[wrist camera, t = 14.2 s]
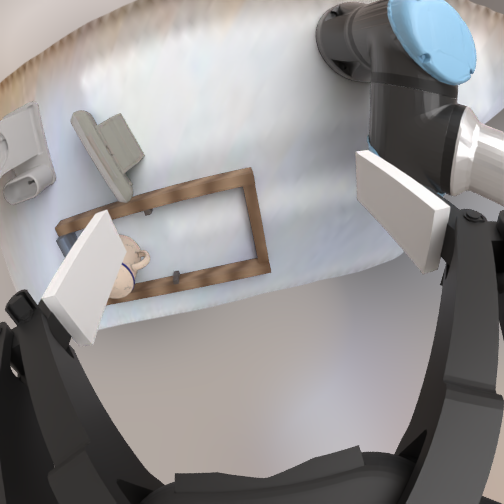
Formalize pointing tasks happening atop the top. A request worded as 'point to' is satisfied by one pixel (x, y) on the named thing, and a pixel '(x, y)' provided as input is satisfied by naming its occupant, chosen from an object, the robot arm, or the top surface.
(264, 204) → the top surface
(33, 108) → the phone holder
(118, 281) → the teacup with lid
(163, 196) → the open rectangular wooden frame
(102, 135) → the digital clock
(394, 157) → the robot arm
